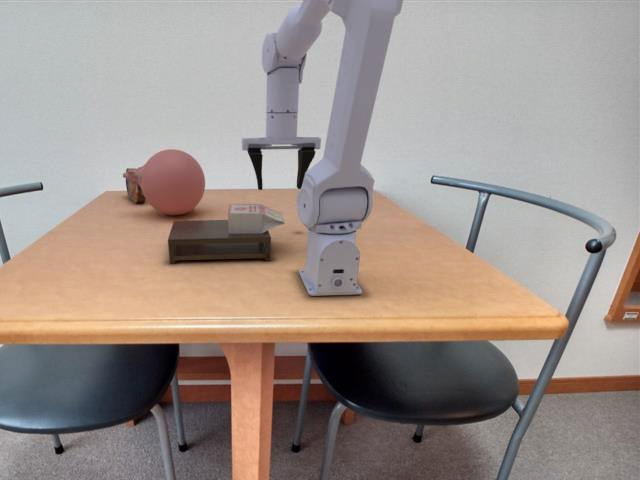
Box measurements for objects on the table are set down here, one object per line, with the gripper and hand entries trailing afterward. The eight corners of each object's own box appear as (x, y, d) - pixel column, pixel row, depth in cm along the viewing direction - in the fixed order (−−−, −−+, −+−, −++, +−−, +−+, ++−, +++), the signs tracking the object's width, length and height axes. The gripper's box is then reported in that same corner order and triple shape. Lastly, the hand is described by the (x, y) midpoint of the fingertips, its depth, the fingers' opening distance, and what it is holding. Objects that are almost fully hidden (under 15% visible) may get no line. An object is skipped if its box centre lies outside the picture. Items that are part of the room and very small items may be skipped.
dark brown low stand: (270, 260, 78) (270, 236, 76) (169, 263, 77) (167, 239, 75) (263, 240, 88) (263, 218, 87) (175, 242, 88) (173, 220, 86)
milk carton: (229, 223, 84) (281, 223, 84) (228, 233, 78) (284, 233, 78) (229, 204, 82) (282, 204, 82) (228, 213, 76) (284, 213, 76)
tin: (126, 195, 128) (122, 166, 125) (136, 194, 129) (133, 165, 126) (137, 206, 116) (134, 173, 112) (149, 204, 117) (146, 173, 113)
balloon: (138, 205, 116) (132, 145, 110) (211, 207, 114) (209, 145, 107) (116, 221, 103) (107, 153, 96) (199, 223, 100) (195, 154, 93)
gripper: (316, 111, 82) (312, 183, 88) (240, 112, 81) (241, 185, 87) (325, 112, 76) (320, 190, 82) (242, 113, 75) (243, 192, 81)
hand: (279, 188), depth 84 cm, fingers open, 7 cm apart
